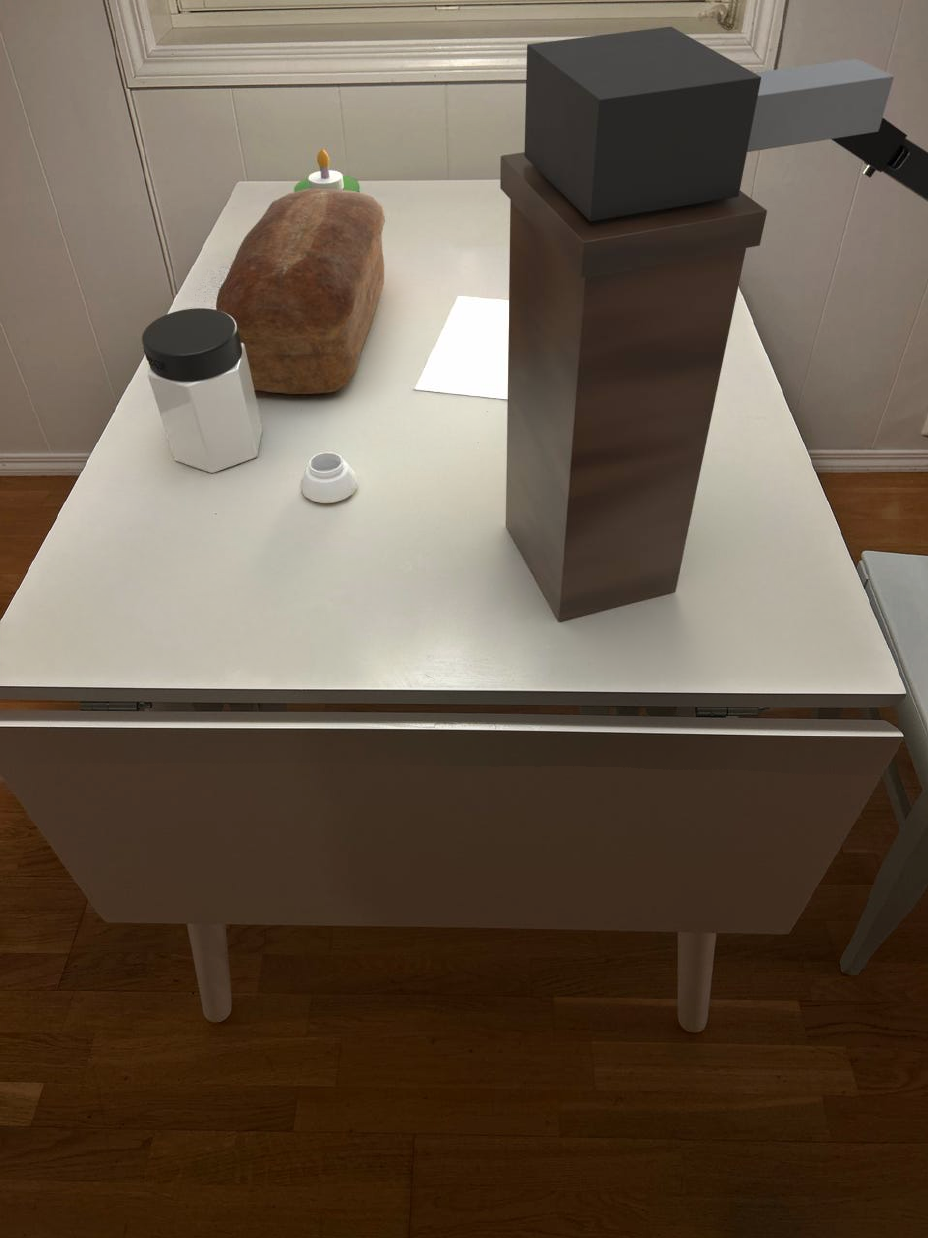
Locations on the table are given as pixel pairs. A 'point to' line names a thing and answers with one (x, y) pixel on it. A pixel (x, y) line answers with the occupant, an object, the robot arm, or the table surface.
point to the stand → (612, 383)
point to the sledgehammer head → (676, 117)
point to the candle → (327, 178)
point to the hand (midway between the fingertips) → (896, 146)
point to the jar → (203, 388)
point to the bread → (307, 289)
